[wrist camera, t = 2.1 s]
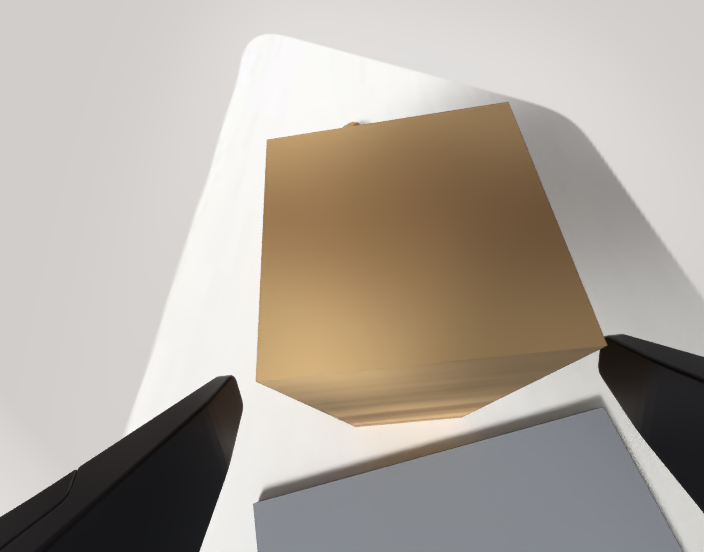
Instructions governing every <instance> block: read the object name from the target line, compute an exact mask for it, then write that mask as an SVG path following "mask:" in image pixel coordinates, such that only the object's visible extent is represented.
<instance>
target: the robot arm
mask: <svg viewBox="0 0 704 552" xmlns="http://www.w3.org/2000/svg"><path fill="white" fill-rule="evenodd" d="M604 338H605V341H606V343H607V346H605V347H603V348H601V349H600V354H599V363H598V368H599V373H600V375H601V377H602V379H603V380H604V382H605V383H606V385H607V386H608V388H609V389H610V391H611V392H612V394H613V395H614V397H615V398H616V400H617V401H618V403H619V404H620V406H621V407H622V409H623V410H624V412H625V413H626V415H627V416H628V418H629V419H630V421H631V422H632V424H633V425H634V426H635V428H636V429H637V431H638V432H639V433H640V435H641V436H642V437H643V439H644V440H645V441H646V443H647V444H648V445H649V446H650V448H651V449H652V450H653V451H654V452H655V454H656V455H657V456H658V457H659V459H660V460H661V461H662V462H663V464H664V465H665V466H666V467H667V468H668V470H669V471H670V472H671V473H672V475H673V476H674V477H675V478H676V480H677V481H678V482H679V483H680V484H681V486H682V487H683V488H684V489H685V491H686V492H687V493H688V494H689V495H690V497H691V498H692V499H693V500H694V502H695V503H696V504H697V505H698V507H699V508H700V509H701V510H702V511H703V513H704V357H702V356H698V355H695V354H691V353H688V352H684V351H681V350H677V349H674V348H670V347H667V346H663V345H660V344H656V343H653V342H649V341H646V340H642V339H639V338H635V337H632V336H628V335H624V334H617V335H608V336H605V337H604ZM242 411H243V402H242V398H241V394H240V391H239V388H238V384H237V381H236V379H235V377H234V376H232V375H227V376H219V377H216V378H214V379H213V380H211V381H210V382H208V383H207V384H205V385H204V386H202V387H201V388H199V389H198V390H196V391H194V392H193V393H191V394H190V395H188V396H187V397H185V398H184V399H182V400H181V401H179V402H178V403H176V404H175V405H173V406H172V407H170V408H169V409H167V410H165V411H164V412H162V413H161V414H159V415H158V416H156V417H155V418H153V419H152V420H150V421H149V422H147V423H146V424H144V425H143V426H141V427H140V428H138V429H136V430H135V431H133V432H132V433H130V434H129V435H127V436H126V437H124V438H123V439H121V440H120V441H118V442H117V443H115V444H114V445H112V446H111V447H109V448H108V449H106V450H105V451H103V452H102V453H100V454H98V455H97V456H95V457H94V458H92V459H91V460H89V461H88V462H86V463H85V464H83V465H82V466H80V467H79V468H78V470H74V471H72V472H71V473H69V474H68V475H66V476H65V477H63V478H62V479H60V480H59V481H57V482H55V483H54V484H52V485H51V486H49V487H48V488H46V489H44V490H43V491H42V492H40V493H38V494H37V495H35V496H34V497H32V498H31V499H29V500H27V501H26V502H24V503H23V504H21V505H19V506H18V507H16V508H14V509H13V510H11V511H9V512H8V513H6V514H4V515H3V516H1V517H0V552H199V551H200V548H201V546H202V543H203V540H204V537H205V534H206V531H207V529H208V526H209V523H210V520H211V517H212V514H213V512H214V509H215V506H216V503H217V500H218V498H219V495H220V492H221V489H222V486H223V483H224V481H225V478H226V475H227V472H228V469H229V465H230V461H231V457H232V453H233V449H234V445H235V441H236V437H237V432H238V428H239V424H240V420H241V416H242Z"/></svg>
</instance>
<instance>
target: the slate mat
mask: <svg viewBox="0 0 704 552" xmlns="http://www.w3.org/2000/svg"><path fill="white" fill-rule="evenodd" d="M253 507H254V518H255V528H256V539H257V549H258V552H683V551H682V549H681V548H680V546H679V544H678V542H677V540H676V538H675V537H674V535H673V533H672V531H671V529H670V527H669V526H668V524H667V522H666V520H665V518H664V516H663V515H662V513H661V511H660V509H659V507H658V505H657V504H656V502H655V500H654V498H653V496H652V494H651V493H650V491H649V489H648V487H647V485H646V483H645V482H644V480H643V478H642V476H641V474H640V473H639V471H638V469H637V467H636V465H635V463H634V462H633V460H632V458H631V456H630V454H629V452H628V451H627V449H626V447H625V445H624V443H623V441H622V440H621V438H620V436H619V434H618V432H617V430H616V429H615V427H614V425H613V423H612V421H611V419H610V418H609V416H608V414H607V412H606V410H605V408H604V407H602V408H597V409H593V410H590V411H586V412H582V413H579V414H575V415H572V416H568V417H564V418H561V419H557V420H553V421H550V422H546V423H543V424H539V425H535V426H532V427H528V428H524V429H521V430H517V431H514V432H510V433H506V434H503V435H499V436H495V437H492V438H488V439H485V440H481V441H477V442H474V443H470V444H466V445H463V446H459V447H456V448H452V449H448V450H445V451H441V452H437V453H434V454H430V455H427V456H423V457H419V458H416V459H412V460H408V461H405V462H401V463H398V464H394V465H390V466H387V467H383V468H379V469H376V470H372V471H369V472H365V473H361V474H358V475H354V476H350V477H347V478H343V479H340V480H336V481H332V482H329V483H325V484H322V485H318V486H314V487H311V488H307V489H303V490H300V491H296V492H293V493H289V494H285V495H282V496H278V497H274V498H271V499H267V500H264V501H260V502H257V503H254V504H253Z"/></svg>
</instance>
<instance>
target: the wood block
mask: <svg viewBox="0 0 704 552" xmlns="http://www.w3.org/2000/svg"><path fill="white" fill-rule="evenodd" d="M605 346H607V343H606V341H605V338H604V336H603V333H602V331H601V328H600V326H599V324H598V321H597V319H596V316H595V314H594V311H593V309H592V306H591V304H590V301H589V299H588V297H587V294H586V292H585V289H584V287H583V284H582V282H581V279H580V277H579V274H578V272H577V270H576V267H575V265H574V262H573V260H572V257H571V255H570V252H569V250H568V247H567V245H566V243H565V240H564V238H563V235H562V233H561V230H560V228H559V225H558V223H557V220H556V218H555V216H554V213H553V211H552V208H551V206H550V203H549V201H548V198H547V196H546V193H545V191H544V189H543V186H542V184H541V181H540V179H539V176H538V174H537V171H536V169H535V166H534V164H533V162H532V159H531V157H530V154H529V152H528V149H527V147H526V144H525V142H524V139H523V137H522V135H521V132H520V130H519V127H518V125H517V122H516V120H515V117H514V115H513V112H512V110H511V108H510V105H509V103H508V102H504V103H497V104H491V105H485V106H478V107H472V108H466V109H459V110H453V111H447V112H440V113H434V114H428V115H421V116H415V117H408V118H402V119H396V120H389V121H383V122H377V123H370V124H364V125H358V126H351V127H345V128H338V129H332V130H326V131H319V132H313V133H307V134H300V135H294V136H288V137H281V138H275V139H269V140H267V148H266V170H265V192H264V214H263V236H262V257H261V279H260V301H259V323H258V345H257V366H256V382H258V383H260V384H263V385H265V386H267V387H269V388H271V389H274V390H276V391H278V392H280V393H282V394H285V395H287V396H289V397H291V398H293V399H296V400H298V401H300V402H302V403H304V404H307V405H309V406H311V407H313V408H315V409H318V410H320V411H322V412H324V413H326V414H329V415H331V416H333V417H335V418H337V419H340V420H342V421H344V422H346V423H348V424H351V425H353V426H355V427H360V426H372V425H383V424H394V423H405V422H416V421H427V420H439V419H450V418H461V417H464V416H466V415H468V414H470V413H472V412H474V411H476V410H478V409H480V408H482V407H484V406H486V405H488V404H490V403H492V402H494V401H496V400H498V399H500V398H502V397H504V396H506V395H508V394H510V393H512V392H514V391H516V390H518V389H520V388H522V387H524V386H526V385H528V384H530V383H533V382H535V381H537V380H539V379H541V378H543V377H545V376H547V375H549V374H551V373H553V372H555V371H557V370H559V369H561V368H563V367H565V366H567V365H569V364H571V363H573V362H575V361H577V360H579V359H581V358H583V357H585V356H587V355H589V354H591V353H593V352H595V351H597V350H599V349H601V348H603V347H605Z"/></svg>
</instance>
